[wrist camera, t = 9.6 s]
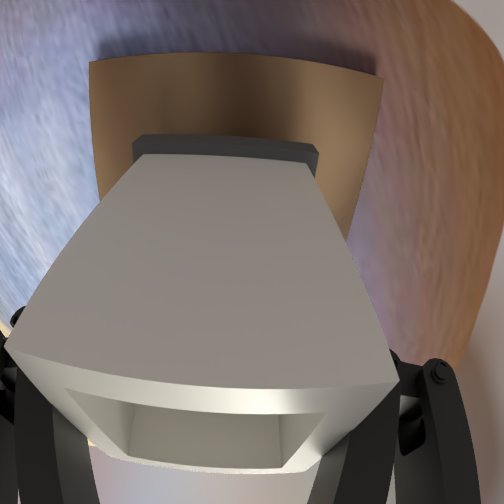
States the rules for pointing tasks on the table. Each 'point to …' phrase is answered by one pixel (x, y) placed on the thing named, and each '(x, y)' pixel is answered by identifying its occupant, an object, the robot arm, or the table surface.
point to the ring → (226, 147)
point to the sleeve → (208, 320)
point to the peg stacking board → (237, 111)
